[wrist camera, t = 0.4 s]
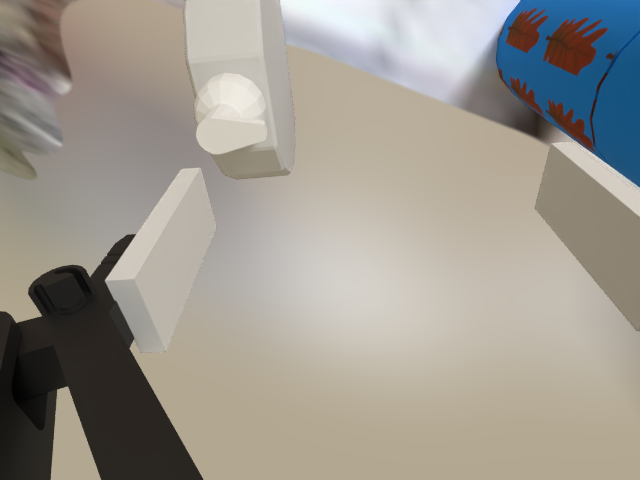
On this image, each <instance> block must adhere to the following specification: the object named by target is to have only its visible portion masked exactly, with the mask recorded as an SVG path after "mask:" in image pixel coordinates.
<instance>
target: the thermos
mask: <svg viewBox="0 0 640 480" xmlns="http://www.w3.org/2000/svg"><path fill="white" fill-rule="evenodd" d="M496 62H497V66H498V70H499V73H500V77H501V79H502V80H503V82H504V83H505V84H506V85H507V87H508V88H509V89H510V90H511V92H513V93H514V94H515V95H516V96H517V97H518V98H519V99H520V100H521V101H522V102H523V103H524V104H525V105H527V106H528V107H529V108H531V109H532V110H534V111H535V112H536V113H538V114H539V115H541V116H542V117H543V118H545V119H546V120H547V121H549V122H550V123H552V124H553V125H554V126H556V127H557V128H558V129H560V130H561V131H563V132H564V133H565V134H567V135H568V136H570V137H571V138H572V139H574V140H575V141H576V142H578V143H579V144H581V145H582V146H583V147H585V148H586V149H588V150H589V151H590V152H592V153H593V154H594V155H596V156H597V157H599V158H600V159H601V160H603V161H604V162H606V163H607V164H609V165H610V166H611V167H612V168H614V169H615V170H617V171H618V172H619V173H621V174H622V175H624V176H625V177H626V178H628V179H629V180H630V181H632V182H633V183H635V184H636V185H637V186H639V187H640V0H521V1H520V2H519V4H518V5H517V6H516V7H515V9H514V10H513V11H512V12H511V14H510V15H509V16H508V18H507V20H506V22H505V25H504V27H503V29H502V32H501V34H500V36H499V39H498V47H497V56H496Z"/></svg>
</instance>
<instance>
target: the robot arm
mask: <svg viewBox="0 0 640 480" xmlns="http://www.w3.org/2000/svg"><path fill="white" fill-rule="evenodd" d="M535 209H536V210H537V211H538V213H539V214H540V215H541V217H542V218H543V219H544V220H545V221H546V223H547V224H548V225H549V226H550V227H551V229H552V230H553V231H554V232H555V233H556V234H557V236H558V237H559V238H560V239H561V241H562V242H563V243H564V244H565V245H566V246H567V248H568V249H569V250H570V251H571V253H572V254H573V255H574V256H575V257H576V259H577V260H578V261H579V262H580V263H581V264H582V266H583V267H584V268H585V269H586V271H587V272H588V273H589V274H590V276H591V277H592V278H593V279H594V280H595V282H596V283H597V284H598V285H599V286H600V288H601V289H602V290H603V291H604V292H605V294H606V295H607V296H608V297H609V298H610V300H611V301H612V302H613V303H614V304H615V306H616V307H617V308H618V309H619V310H620V312H621V313H622V314H623V315H624V316H625V318H626V319H627V320H628V321H629V322H630V323H631V325H632V326H633V327H634V328H635V330H636V331H640V192H639V191H637V190H636V189H635V188H633V187H632V186H631V185H629V184H628V183H627V182H625V181H624V180H623V179H621V178H620V177H619V176H617V175H616V174H615V173H613V172H612V171H611V170H609V169H608V168H607V167H605V166H604V165H603V164H601V163H600V162H599V161H597V160H596V159H595V158H593V157H592V156H591V155H589V154H588V153H587V152H585V151H584V150H583V149H581V148H580V147H579V146H577V145H576V144H575V143H573V142H562V143H551V145H550V149H549V153H548V157H547V161H546V165H545V169H544V173H543V177H542V181H541V184H540V188H539V193H538V196H537V200H536V205H535ZM216 228H217V227H216V223H215V219H214V215H213V212H212V208H211V204H210V200H209V196H208V192H207V189H206V185H205V182H204V177H203V174H202V170H201V168H186V169H181V170H180V172H179V173H178V175H177V176H176V178H175V179H174V180H173V182H172V183H171V185H170V186H169V188H168V189H167V191H166V192H165V194H164V195H163V197H162V198H161V199H160V201H159V202H158V204H157V205H156V207H155V208H154V210H153V211H152V213H151V214H150V215H149V217H148V218H147V220H146V221H145V223H144V224H143V226H142V227H141V229H140V230H139V231H138V233H137V234H132V235H126V236H125V237H124V238H122V239H121V240H119V241H118V242H117V243H115V245H114V246H113V247H112V248H111V250H110V251H109V252H108V254H107V256H106V257H105V258H104V259H103V261H102V262H101V265H99V266H98V267H97V269H96V270H95V271H94V273H93V274H92V275H91V277H89V275H88V273H87V271H86V270H85V269H84V268H83V267H82V266H78V265H68V266H62V267H59V268H56V269H53V270H51V271H49V272H47V273H45V274H43V275H41V276H40V277H39V278H37V279H36V280H35V281H34V282H33V283H32V284H31V286H30V287H29V291H28V294H29V296H30V298H31V299H32V301H33V302H34V304H35V305H36V307H37V308H38V310H39V311H40V313H41V314H42V316H41V317H37V318H34V319H30V320H26V321H22V322H18V323H16V322H15V320H14V319H13V318H12V316H11V315H10V314H8V313H7V312H2V311H0V480H50V479H51V466H52V452H53V439H54V425H55V411H56V398H57V389H60V388H64V387H67V386H68V387H69V390H70V393H71V396H72V399H73V401H74V404H75V407H76V410H77V413H78V416H79V418H80V421H81V424H82V427H83V430H84V432H85V435H86V438H87V441H88V444H89V446H90V449H91V452H92V455H93V458H94V460H95V463H96V466H97V469H98V472H99V475H100V478H101V480H203V478H202V476H201V474H200V473H199V471H198V469H197V467H196V466H195V464H194V462H193V460H192V459H191V457H190V455H189V453H188V452H187V450H186V448H185V446H184V445H183V443H182V441H181V439H180V437H179V436H178V434H177V432H176V430H175V428H174V427H173V425H172V423H171V422H170V420H169V418H168V416H167V414H166V413H165V411H164V409H163V407H162V406H161V404H160V402H159V400H158V399H157V397H156V395H155V393H154V391H153V390H152V388H151V386H150V384H149V383H148V381H147V379H146V377H145V376H144V374H143V372H142V370H141V368H140V367H139V365H138V363H137V361H136V360H135V358H134V356H133V354H132V353H131V351H130V349H129V348H130V346H131V344H132V342H133V340H134V341H135V343H136V344H137V347H138V348H139V351H140V353H152V352H166V351H167V349H168V346H169V344H170V342H171V339H172V336H173V334H174V331H175V329H176V327H177V324H178V321H179V319H180V317H181V314H182V312H183V309H184V307H185V304H186V302H187V300H188V297H189V294H190V292H191V290H192V287H193V285H194V282H195V280H196V277H197V275H198V272H199V270H200V267H201V265H202V263H203V260H204V258H205V255H206V253H207V250H208V247H209V245H210V243H211V240H212V238H213V235H214V233H215V230H216Z"/></svg>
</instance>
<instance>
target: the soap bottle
mask: <svg viewBox="0 0 640 480" xmlns="http://www.w3.org/2000/svg"><path fill="white" fill-rule="evenodd" d="M183 23H184V40H185V55H186V64H187V68H188V72H189V76H190V80H191V84H192V88H193V92H194V96H195V102H194V118H195V121H196V123H197V125H198V127H197V130H196V139H197V141H198V143H199V145H200V146H201V147H202V148H203V149H204V150H205V151H207V152H210V153H211V155H212V157H213V158H214V160H215V161H216V163H217V165H218V166H219V168H220V169H221V171H222V173H223V174H225V175H226V176H229V177H232V178H234V179H247V178H259V177H271V176H284V175H289V174H290V172H291V170H292V167H293V165H294V155H295V115H294V107H293V99H292V91H291V84H290V77H289V68H288V61H287V53H286V45H285V37H284V29H283V22H282V14H281V6H280V0H185V2H184V9H183Z"/></svg>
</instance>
